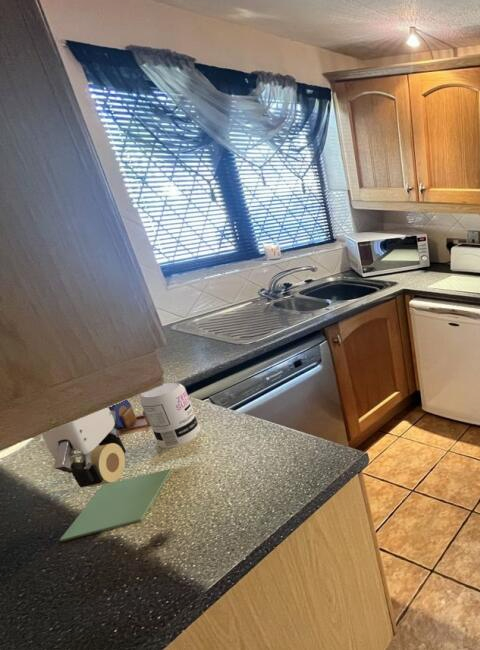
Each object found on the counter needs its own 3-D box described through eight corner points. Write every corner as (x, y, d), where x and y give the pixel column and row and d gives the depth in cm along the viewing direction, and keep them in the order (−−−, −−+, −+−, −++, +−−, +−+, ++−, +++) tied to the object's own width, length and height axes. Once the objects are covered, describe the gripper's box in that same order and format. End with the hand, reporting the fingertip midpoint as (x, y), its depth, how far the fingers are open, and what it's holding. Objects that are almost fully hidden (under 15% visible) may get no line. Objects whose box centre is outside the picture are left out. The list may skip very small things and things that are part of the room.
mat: (60, 542, 71) (59, 540, 70) (103, 486, 83) (102, 484, 83) (141, 520, 75) (140, 519, 74) (171, 470, 87) (170, 468, 87)
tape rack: (99, 442, 96) (91, 426, 94) (118, 421, 104) (111, 406, 102) (149, 432, 99) (142, 416, 97) (164, 413, 107) (157, 397, 105)
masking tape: (90, 495, 73) (72, 465, 70) (111, 468, 79) (96, 439, 77) (110, 490, 74) (93, 460, 71) (130, 464, 80) (115, 435, 78)
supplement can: (159, 439, 97) (137, 388, 91) (200, 424, 102) (181, 376, 97) (160, 456, 91) (137, 403, 86) (203, 440, 96) (183, 389, 91)
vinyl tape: (106, 436, 97) (94, 411, 94) (122, 419, 103) (111, 395, 100) (121, 433, 98) (110, 408, 95) (136, 416, 104) (125, 392, 101)
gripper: (68, 374, 75) (105, 445, 82) (-3, 427, 60) (48, 509, 67) (117, 366, 78) (148, 436, 84) (59, 415, 63) (103, 496, 69)
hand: (104, 468), depth 75 cm, fingers closed on masking tape, 7 cm apart
